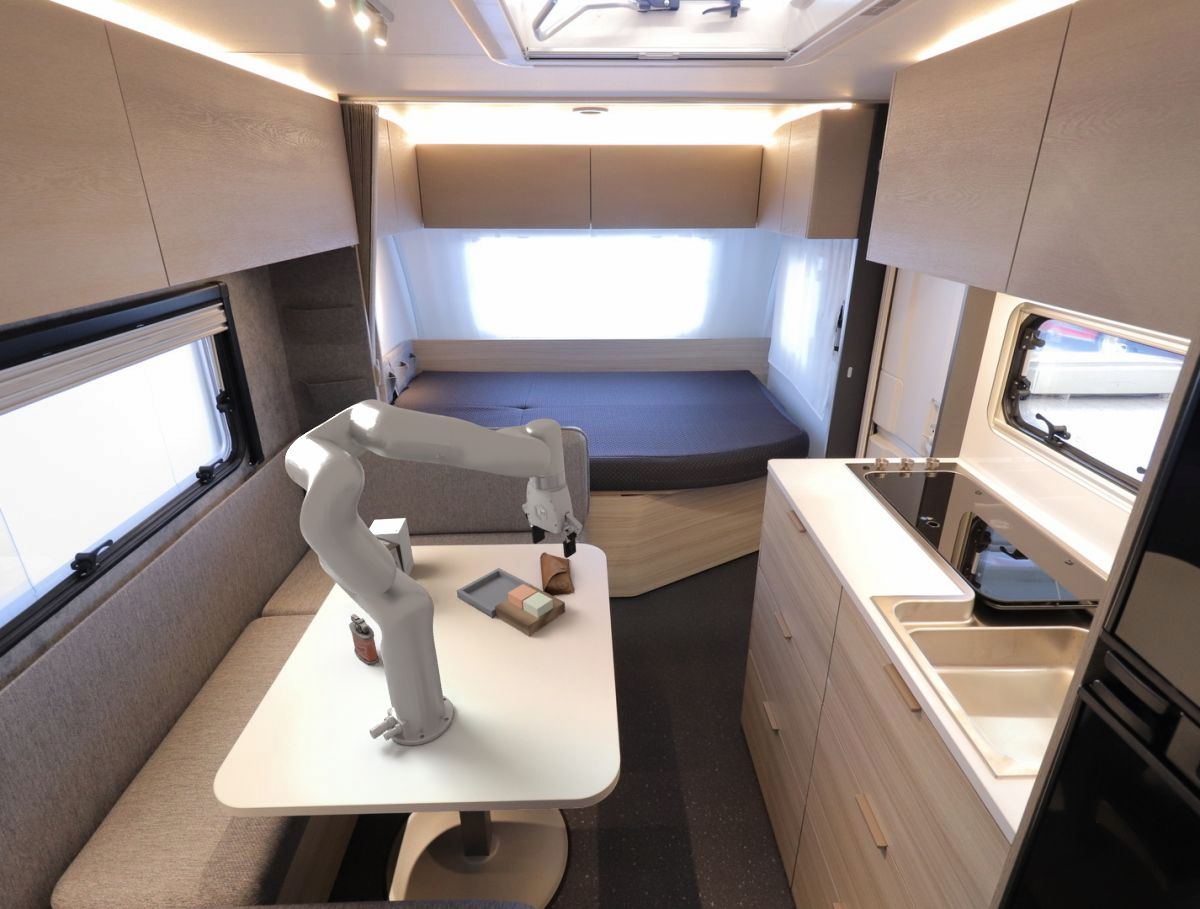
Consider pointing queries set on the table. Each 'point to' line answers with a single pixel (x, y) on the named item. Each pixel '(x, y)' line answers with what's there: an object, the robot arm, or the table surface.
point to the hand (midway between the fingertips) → (554, 547)
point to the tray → (489, 591)
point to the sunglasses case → (555, 575)
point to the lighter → (363, 641)
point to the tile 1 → (520, 595)
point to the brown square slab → (528, 615)
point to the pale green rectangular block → (537, 604)
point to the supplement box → (396, 538)
